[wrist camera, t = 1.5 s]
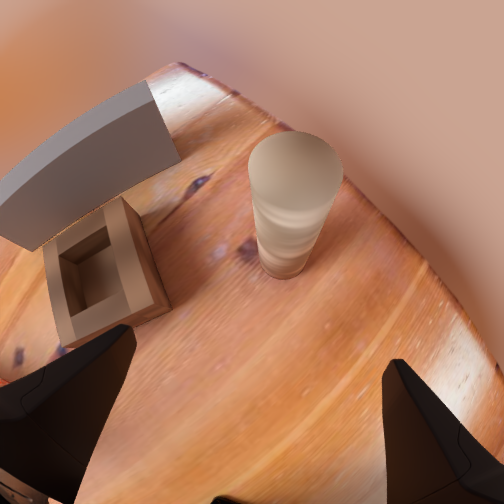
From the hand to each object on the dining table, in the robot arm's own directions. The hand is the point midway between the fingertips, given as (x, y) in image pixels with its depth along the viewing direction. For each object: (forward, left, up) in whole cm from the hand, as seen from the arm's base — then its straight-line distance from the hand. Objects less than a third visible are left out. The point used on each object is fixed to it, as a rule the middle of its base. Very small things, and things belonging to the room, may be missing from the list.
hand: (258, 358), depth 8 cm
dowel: (+2, -7, -13) cm, 15 cm away
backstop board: (+24, -6, -13) cm, 28 cm away
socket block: (+15, +1, -13) cm, 20 cm away
